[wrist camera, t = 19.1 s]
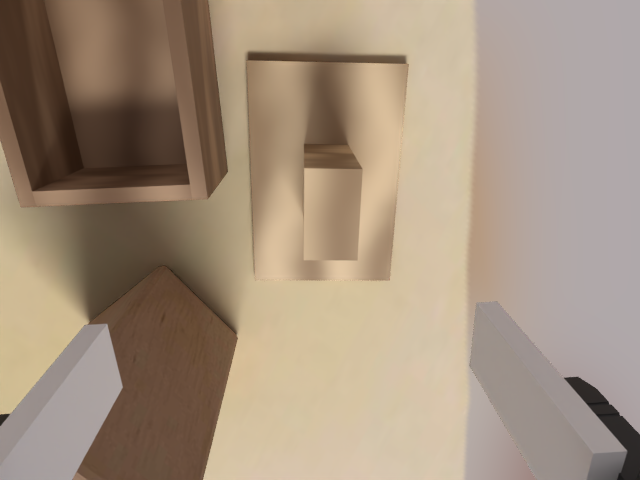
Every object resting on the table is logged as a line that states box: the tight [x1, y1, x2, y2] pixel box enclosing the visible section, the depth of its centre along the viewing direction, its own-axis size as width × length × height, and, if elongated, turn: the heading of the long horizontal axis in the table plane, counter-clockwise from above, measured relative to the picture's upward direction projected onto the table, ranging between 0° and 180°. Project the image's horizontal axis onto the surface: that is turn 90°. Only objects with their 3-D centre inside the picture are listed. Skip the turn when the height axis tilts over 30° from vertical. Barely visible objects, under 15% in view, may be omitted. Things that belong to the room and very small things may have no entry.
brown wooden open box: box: [0, 0, 228, 207], centre depth 27 cm, size 24×20×12 cm
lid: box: [247, 60, 409, 280], centre depth 32 cm, size 12×18×10 cm, turn 179°
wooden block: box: [72, 266, 238, 480], centre depth 32 cm, size 10×10×20 cm
